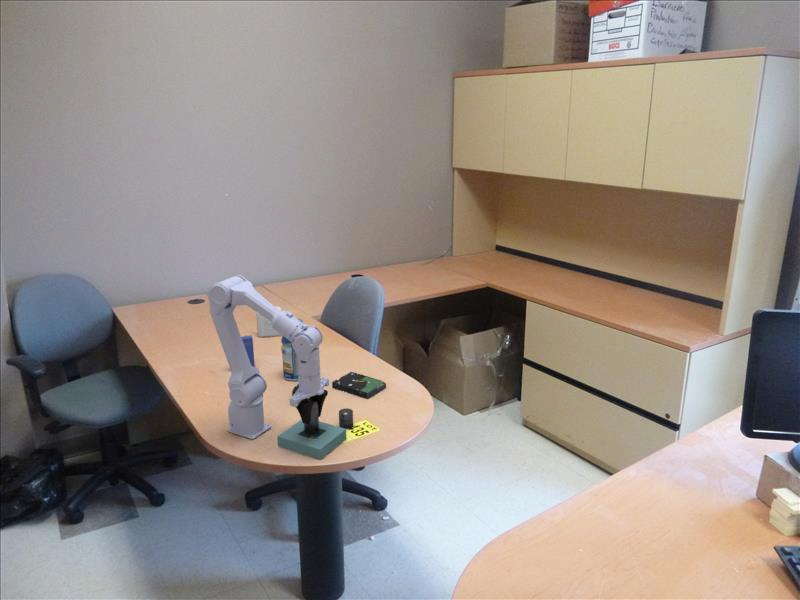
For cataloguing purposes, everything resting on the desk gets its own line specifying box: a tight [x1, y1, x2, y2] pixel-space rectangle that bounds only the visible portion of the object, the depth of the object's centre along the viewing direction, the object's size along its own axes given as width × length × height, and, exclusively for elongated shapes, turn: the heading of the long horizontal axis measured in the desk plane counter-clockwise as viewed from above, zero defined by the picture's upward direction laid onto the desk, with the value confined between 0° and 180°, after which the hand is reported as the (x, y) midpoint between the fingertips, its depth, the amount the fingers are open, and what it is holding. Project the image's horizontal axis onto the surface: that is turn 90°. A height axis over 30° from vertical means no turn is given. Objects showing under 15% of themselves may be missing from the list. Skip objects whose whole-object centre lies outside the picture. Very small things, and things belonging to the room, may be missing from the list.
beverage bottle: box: [280, 317, 304, 382], centre depth 197 cm, size 8×8×20 cm
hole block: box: [276, 419, 347, 461], centre depth 159 cm, size 14×12×3 cm
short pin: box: [338, 407, 354, 430], centre depth 167 cm, size 4×4×4 cm
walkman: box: [241, 334, 256, 367], centre depth 204 cm, size 8×3×12 cm, turn 114°
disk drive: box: [331, 371, 387, 400], centre depth 192 cm, size 10×3×15 cm
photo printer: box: [256, 305, 283, 338], centre depth 237 cm, size 10×4×12 cm, turn 102°
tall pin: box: [304, 398, 320, 436], centre depth 157 cm, size 4×4×9 cm
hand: (311, 419), depth 157 cm, fingers closed on tall pin, 4 cm apart
